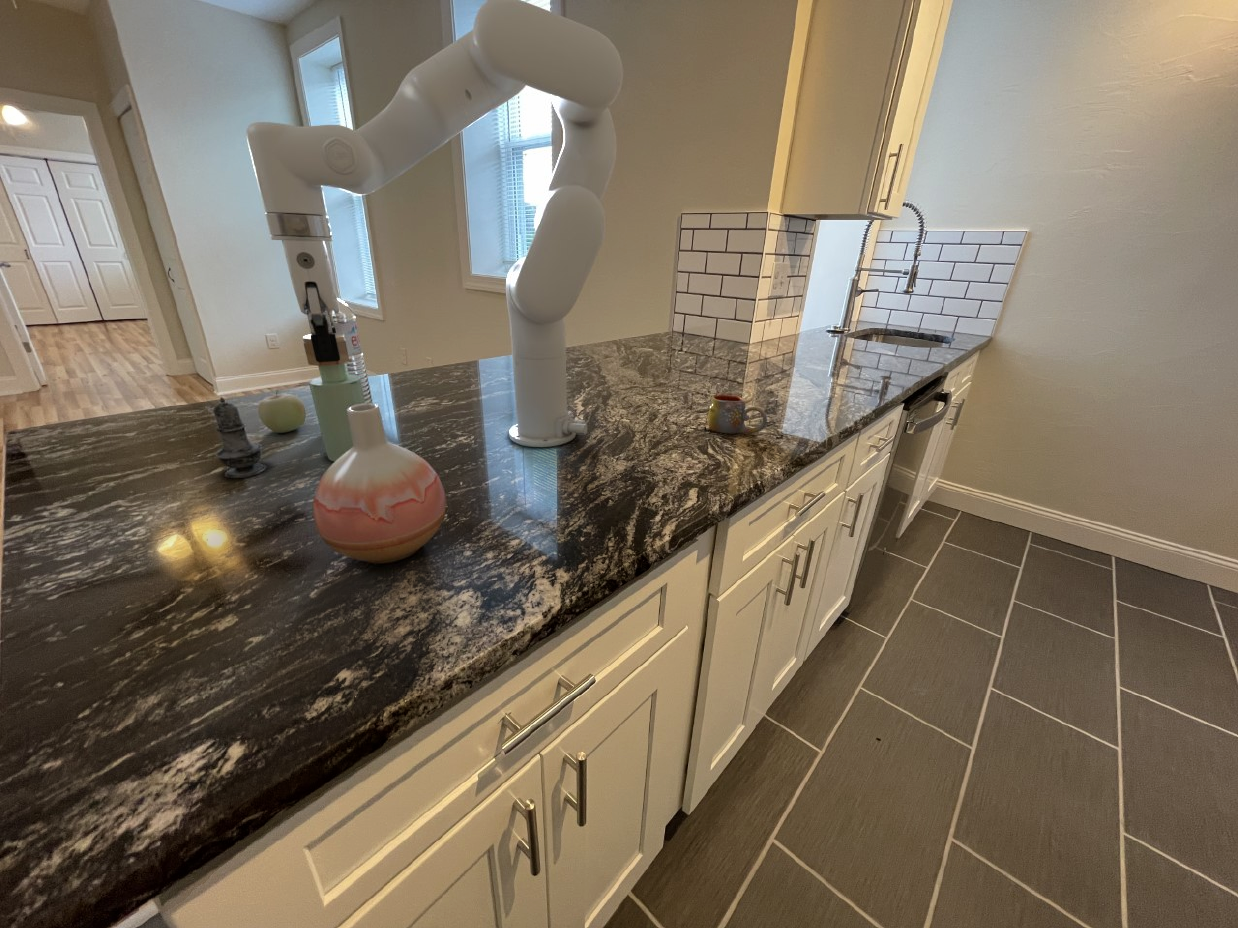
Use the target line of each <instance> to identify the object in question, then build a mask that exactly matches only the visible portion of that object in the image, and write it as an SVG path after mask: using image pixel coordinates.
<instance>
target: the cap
mask: <svg viewBox="0 0 1238 928" xmlns="http://www.w3.org/2000/svg"><path fill="white" fill-rule="evenodd" d="M333 334H335V336H336V341H337V346H338V350H339V355H340V360H339V361H331V362H317V361H316V358H315V354H314V350H313V345H312V341H311V337H310V335H311V333H310V334H305V335H303V336H302V340H303V347H304V352H305V355H306V359H307V363H308V365H309V366H321V365H322V366H328V365H337V364H338V365H339V364H343V363H346V362H349V355H348V351H347V346H346V341H345V336H344V335H343V334H340V333H333Z"/></svg>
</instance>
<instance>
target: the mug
mask: <svg viewBox="0 0 1238 928" xmlns="http://www.w3.org/2000/svg"><path fill="white" fill-rule="evenodd" d="M708 409H709V410H708V413H707V426H706V430H707V431H713V432H715V433H720V434H728V435H729V434H730V435H731V434H745V435H747V434H749V435H750V434H756V433H759V432H761V431H763V430H764V428H765V427H766V426H767V423H768V416H767V414H766V411H764V410H763V409H762V408H761V407H760V406H750V407H748V408H746V401H745V400H744V399H743V398H742V397H741V396H738V395H732V394H731V395H730V394H714V395H712V396H711V404H710V406H709V408H708ZM752 411H756V412H758V413H759V414H760V415H761V417H762V422H761V423H760V424H759V425H757V427H747V426H746V424H745V422H746V421H749V420H750V415H749V414H748V413H749V412H752Z"/></svg>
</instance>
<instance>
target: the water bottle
mask: <svg viewBox="0 0 1238 928" xmlns="http://www.w3.org/2000/svg"><path fill="white" fill-rule="evenodd" d="M338 303H339V312H338V313H337V314H335V313H334V310H330V314H331V318H332V322H333V327H335V329H336V333H340V334H343V335H344V336H345V341H346V346H347V351H348V355H349V362H346V363H345V367H346V371H347V374H353V375H358V376H360V379H361V384H362V389H363V394H364V399H365V403H372V404H374V402H373V398H372V393H371V387H370V382H369V377H368V372H367V366H366V363H365V357H364V353H363V350H362V345H361V341H360V340H361V339H360V336H359V331H358V326H357V321H356V320H357V316H356V313H355V311H354V310H353V309H352V307H350V306H349V304H347V303H345V301H344V300H341V299H340V298H338Z"/></svg>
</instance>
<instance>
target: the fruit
mask: <svg viewBox="0 0 1238 928" xmlns="http://www.w3.org/2000/svg"><path fill="white" fill-rule="evenodd" d="M278 393H279V390H277V389H275V394H273V395H270V396H266V397H265V398H264V399H262V400H261V401H260V402H259V404H258V406H257V414H258V418H259V419H260V421H261V423H262V424H263V425H264V426H265V427H266V428H267V429H269V430H270V431H273V432H275V433H277V434H278V433H279V434H283V433H289V432H291V431H295V430H297V429H299V428H301V427H302V426H303V425H304V423H305V421H306V417H307V412H306V407H305V404H304V403H303V401H302V400H301V399H300V398H299V397H298V396H296V395H294V394H291V393H280V394H278Z"/></svg>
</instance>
